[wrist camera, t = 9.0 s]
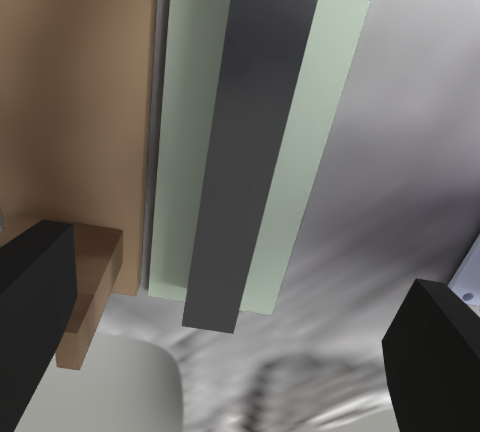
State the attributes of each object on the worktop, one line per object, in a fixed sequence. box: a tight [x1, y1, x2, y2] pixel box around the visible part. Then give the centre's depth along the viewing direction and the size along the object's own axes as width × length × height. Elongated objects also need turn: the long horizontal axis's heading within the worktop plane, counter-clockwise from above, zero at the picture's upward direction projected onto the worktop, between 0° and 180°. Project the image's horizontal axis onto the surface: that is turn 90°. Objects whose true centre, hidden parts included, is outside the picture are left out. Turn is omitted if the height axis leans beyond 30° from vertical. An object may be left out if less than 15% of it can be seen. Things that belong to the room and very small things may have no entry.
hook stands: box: [0, 0, 157, 370], centre depth 14 cm, size 6×19×7 cm, turn 170°
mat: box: [148, 0, 371, 315], centre depth 17 cm, size 6×20×1 cm, turn 170°
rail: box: [182, 0, 318, 334], centre depth 16 cm, size 2×18×2 cm, turn 170°
